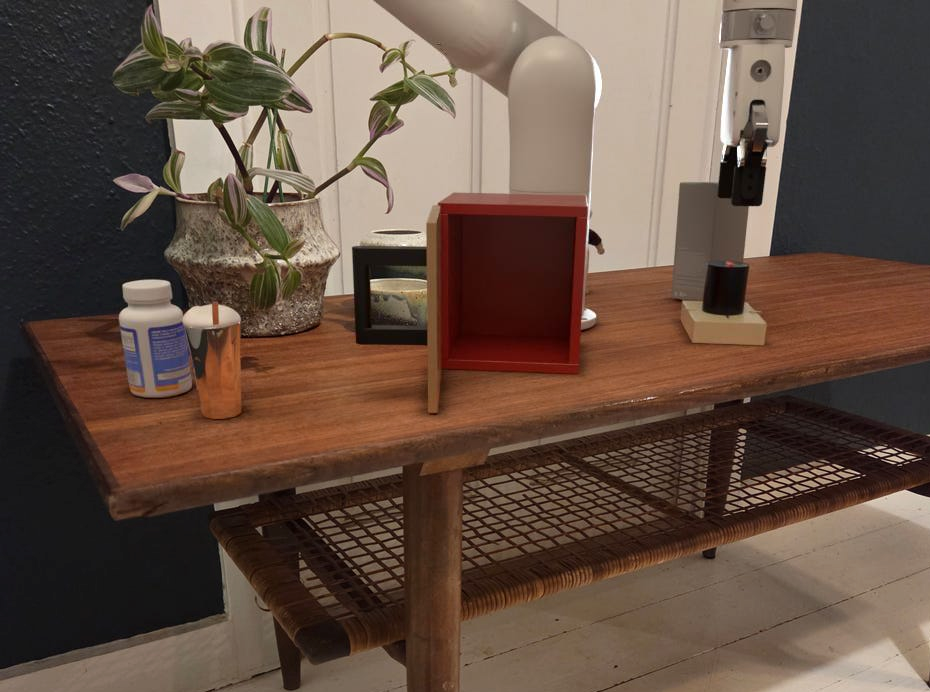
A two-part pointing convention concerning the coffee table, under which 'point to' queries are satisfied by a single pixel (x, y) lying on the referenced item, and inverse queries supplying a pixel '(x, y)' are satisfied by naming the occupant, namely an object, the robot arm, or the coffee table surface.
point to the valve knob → (725, 287)
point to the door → (431, 332)
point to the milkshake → (215, 358)
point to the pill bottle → (154, 341)
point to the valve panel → (723, 325)
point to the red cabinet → (512, 281)
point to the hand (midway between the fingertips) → (738, 201)
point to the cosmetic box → (704, 236)
